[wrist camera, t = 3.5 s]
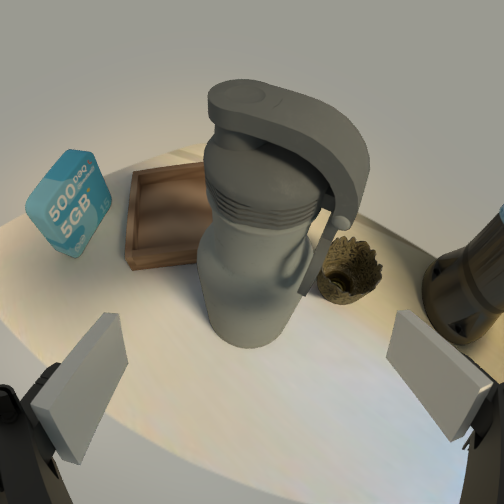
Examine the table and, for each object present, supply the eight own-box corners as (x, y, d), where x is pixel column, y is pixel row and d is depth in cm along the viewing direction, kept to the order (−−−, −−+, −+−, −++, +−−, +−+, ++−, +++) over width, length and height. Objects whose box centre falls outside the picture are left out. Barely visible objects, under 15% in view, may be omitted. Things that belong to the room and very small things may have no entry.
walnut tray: (246, 256, 40) (248, 242, 37) (132, 270, 38) (124, 258, 35) (231, 174, 48) (231, 159, 45) (137, 186, 46) (132, 171, 43)
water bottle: (301, 297, 38) (393, 103, 14) (270, 365, 33) (369, 220, 9) (231, 265, 39) (234, 54, 15) (194, 327, 35) (124, 130, 11)
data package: (77, 262, 38) (39, 213, 28) (58, 254, 39) (20, 206, 28) (114, 201, 44) (91, 146, 34) (94, 196, 45) (70, 144, 34)
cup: (300, 271, 40) (313, 239, 33) (347, 263, 41) (368, 231, 34) (315, 323, 36) (334, 300, 29) (364, 311, 37) (391, 286, 30)
